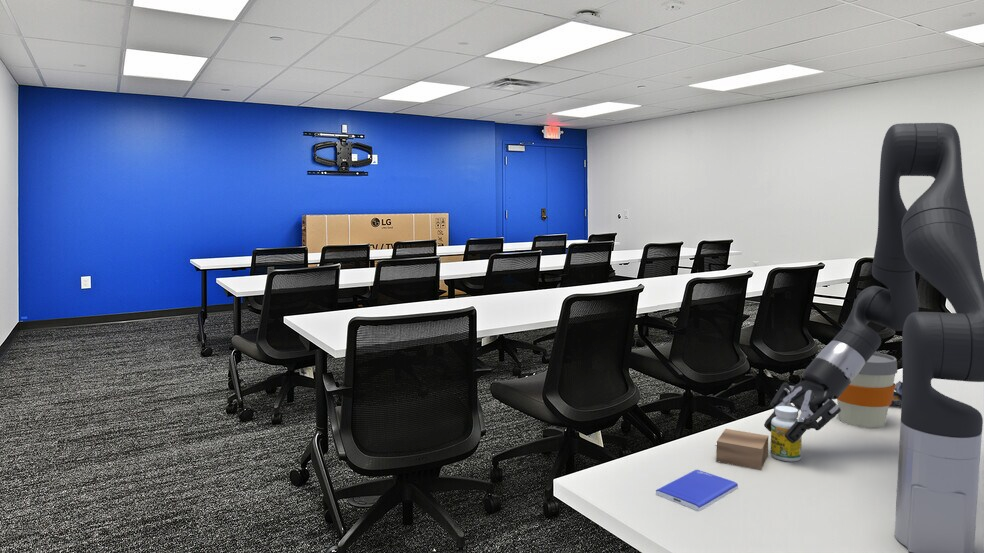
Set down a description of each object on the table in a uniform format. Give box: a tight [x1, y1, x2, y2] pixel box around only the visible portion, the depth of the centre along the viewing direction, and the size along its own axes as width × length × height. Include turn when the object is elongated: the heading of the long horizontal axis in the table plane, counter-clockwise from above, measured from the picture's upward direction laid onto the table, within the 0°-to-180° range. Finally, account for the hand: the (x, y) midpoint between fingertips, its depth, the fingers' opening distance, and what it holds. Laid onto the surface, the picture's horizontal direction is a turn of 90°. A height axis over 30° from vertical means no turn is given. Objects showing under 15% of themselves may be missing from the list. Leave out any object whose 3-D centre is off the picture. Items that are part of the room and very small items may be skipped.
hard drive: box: [655, 469, 739, 512], centre depth 105 cm, size 2×8×12 cm
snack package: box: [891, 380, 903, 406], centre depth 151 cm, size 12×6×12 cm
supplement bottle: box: [770, 406, 803, 463], centre depth 119 cm, size 5×5×10 cm
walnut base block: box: [715, 428, 769, 471], centre depth 119 cm, size 8×8×4 cm
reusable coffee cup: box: [836, 351, 898, 429], centre depth 139 cm, size 13×13×15 cm
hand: (778, 434), depth 119 cm, fingers closed on supplement bottle, 5 cm apart
